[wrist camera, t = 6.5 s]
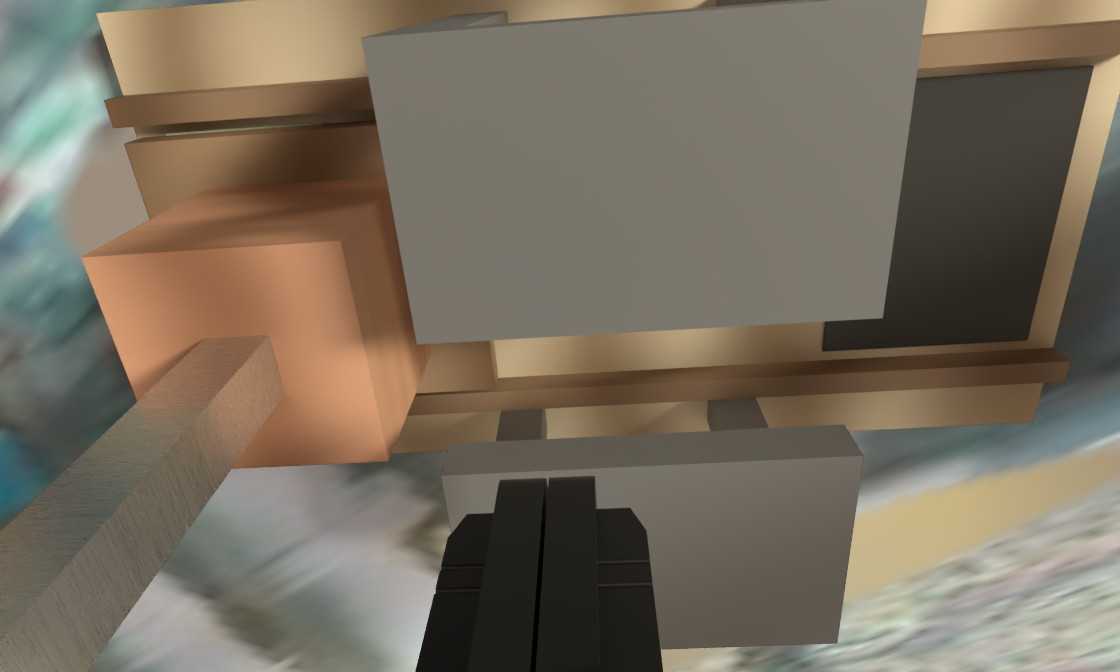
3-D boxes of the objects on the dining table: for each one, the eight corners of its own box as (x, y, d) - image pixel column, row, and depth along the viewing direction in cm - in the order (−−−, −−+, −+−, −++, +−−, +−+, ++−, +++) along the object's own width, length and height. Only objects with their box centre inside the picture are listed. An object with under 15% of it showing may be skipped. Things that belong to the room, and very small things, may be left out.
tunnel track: (1125, -71, 21) (1685, -129, 10) (1010, 400, 28) (1273, 651, 17) (125, 11, 22) (-275, 35, 12) (259, 439, 29) (82, 690, 19)
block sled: (464, 113, 21) (187, 435, 6) (498, 375, 25) (380, 965, 10) (142, 137, 22) (-859, 489, 7) (224, 389, 26) (-283, 973, 11)
